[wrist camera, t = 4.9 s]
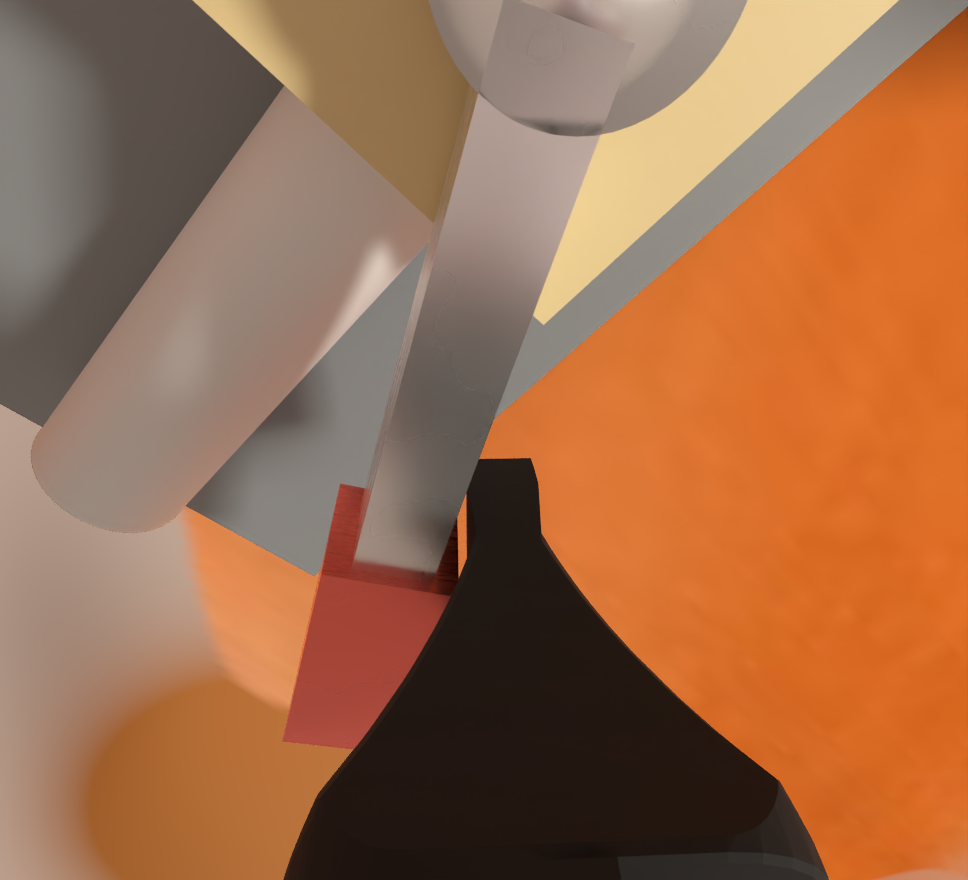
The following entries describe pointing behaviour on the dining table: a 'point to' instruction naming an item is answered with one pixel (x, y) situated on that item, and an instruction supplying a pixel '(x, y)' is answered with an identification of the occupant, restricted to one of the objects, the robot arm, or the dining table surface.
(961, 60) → the dining table surface
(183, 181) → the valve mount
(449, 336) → the valve lever
